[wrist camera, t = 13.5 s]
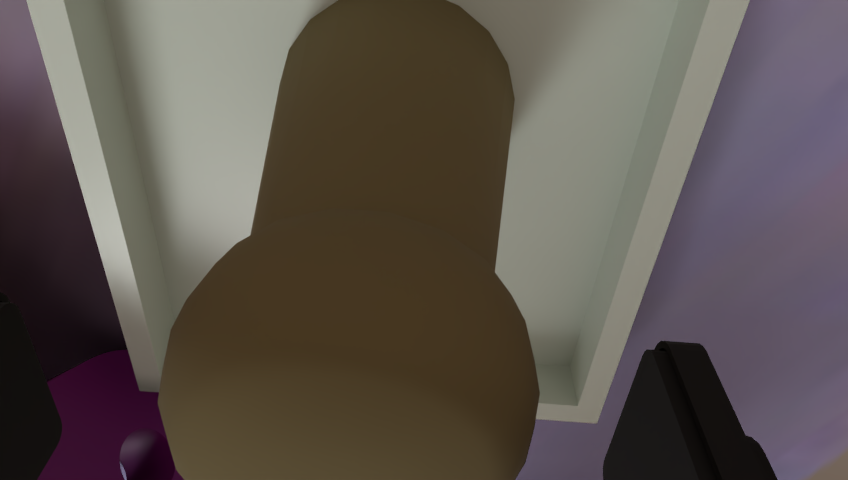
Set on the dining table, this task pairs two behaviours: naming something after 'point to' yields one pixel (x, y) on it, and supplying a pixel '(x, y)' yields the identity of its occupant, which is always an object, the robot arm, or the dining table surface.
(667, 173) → the tray
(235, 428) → the cork
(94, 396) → the mounting bracket
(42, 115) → the dining table surface
